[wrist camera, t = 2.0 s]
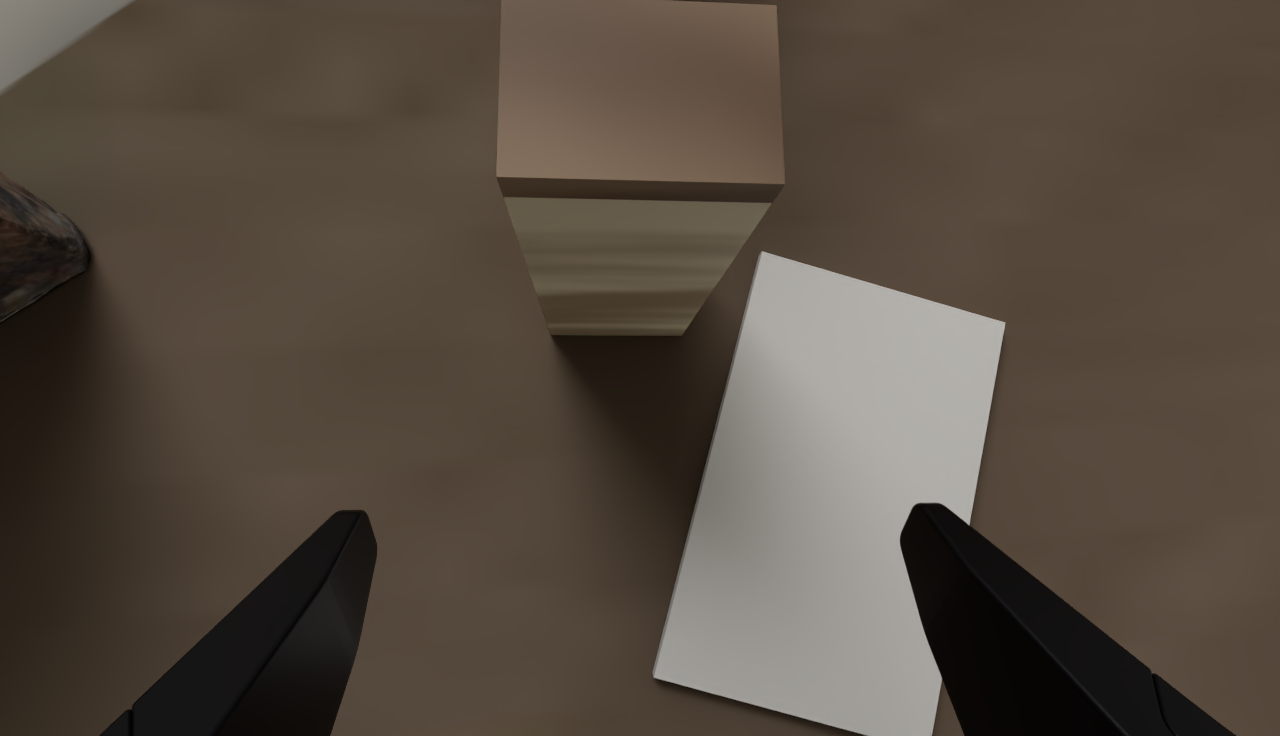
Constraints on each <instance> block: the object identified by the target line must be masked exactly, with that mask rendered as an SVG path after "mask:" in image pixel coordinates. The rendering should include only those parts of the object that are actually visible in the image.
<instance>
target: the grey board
mask: <svg viewBox="0 0 1280 736" xmlns="http://www.w3.org/2000/svg"><path fill="white" fill-rule="evenodd" d="M1004 328H1005V323H1004V322H1001V321H998V320H994V319H991V318H987V317H984V316H981V315H977V314H974V313H970V312H967V311H964V310H960V309H957V308H953V307H950V306H946V305H943V304H940V303H936V302H933V301H929V300H926V299H923V298H919V297H916V296H912V295H909V294H906V293H902V292H899V291H895V290H892V289H889V288H885V287H882V286H878V285H875V284H871V283H868V282H865V281H861V280H858V279H854V278H851V277H848V276H844V275H841V274H837V273H834V272H831V271H827V270H824V269H820V268H817V267H814V266H810V265H807V264H803V263H800V262H796V261H793V260H790V259H786V258H783V257H779V256H776V255H773V254H769V253H766V252H761V253H760V255H759V256H758V260H757V264H756V268H755V272H754V276H753V280H752V284H751V288H750V292H749V296H748V300H747V303H746V307H745V311H744V315H743V319H742V323H741V327H740V331H739V335H738V339H737V343H736V347H735V351H734V354H733V358H732V362H731V366H730V370H729V374H728V378H727V382H726V386H725V390H724V394H723V398H722V402H721V405H720V409H719V413H718V417H717V421H716V425H715V429H714V433H713V437H712V441H711V445H710V449H709V453H708V456H707V460H706V464H705V468H704V472H703V476H702V480H701V484H700V488H699V492H698V496H697V500H696V504H695V507H694V511H693V515H692V519H691V523H690V527H689V531H688V535H687V539H686V543H685V547H684V551H683V555H682V558H681V562H680V566H679V570H678V574H677V578H676V582H675V586H674V590H673V594H672V598H671V602H670V606H669V609H668V613H667V617H666V621H665V625H664V629H663V633H662V637H661V641H660V645H659V649H658V653H657V657H656V660H655V664H654V668H653V672H652V673H653V677H654V678H657V679H661V680H664V681H668V682H672V683H675V684H679V685H683V686H686V687H690V688H694V689H698V690H701V691H705V692H709V693H712V694H716V695H720V696H723V697H727V698H731V699H734V700H738V701H742V702H745V703H749V704H753V705H756V706H760V707H764V708H768V709H771V710H775V711H779V712H782V713H786V714H790V715H793V716H797V717H801V718H804V719H808V720H812V721H815V722H819V723H823V724H827V725H830V726H834V727H838V728H841V729H845V730H849V731H852V732H856V733H860V734H863V735H867V736H932V732H933V727H934V721H935V715H936V710H937V704H938V698H939V693H940V687H941V682H942V677H941V674H940V672H939V669H938V667H937V664H936V662H935V659H934V657H933V654H932V652H931V649H930V646H929V644H928V641H927V638H926V636H925V633H924V630H923V626H922V623H921V620H920V616H919V613H918V609H917V605H916V602H915V598H914V595H913V591H912V587H911V584H910V580H909V577H908V573H907V569H906V566H905V562H904V559H903V555H902V551H901V547H900V534H901V531H902V529H903V527H904V525H905V522H906V520H907V518H908V516H909V514H910V512H911V509H912V507H913V506H914V505H915V504H917V503H934V502H935V503H941V504H943V505H944V506H946V507H947V508H948V509H950V510H951V511H952V512H953V513H955V514H956V515H957V516H958V517H960V518H961V519H962V520H963V521H965V522H966V523H967V524H968V525H969V524H970V519H971V513H972V507H973V502H974V496H975V491H976V485H977V479H978V474H979V468H980V462H981V457H982V451H983V446H984V440H985V434H986V429H987V423H988V418H989V412H990V406H991V401H992V395H993V389H994V384H995V378H996V373H997V367H998V361H999V356H1000V350H1001V344H1002V339H1003V333H1004Z"/></svg>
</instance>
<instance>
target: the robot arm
mask: <svg viewBox="0 0 1280 736" xmlns="http://www.w3.org/2000/svg"><path fill="white" fill-rule="evenodd" d="M900 547H901V551H902V555H903V559H904V562H905V566H906V569H907V573H908V577H909V580H910V584H911V587H912V591H913V595H914V598H915V602H916V605H917V609H918V613H919V616H920V620H921V623H922V626H923V630H924V633H925V636H926V638H927V641H928V644H929V646H930V649H931V652H932V654H933V657H934V659H935V662H936V664H937V667H938V669H939V672H940V674H941V677H942V680H943V682H944V685H945V687H946V690H947V692H948V695H949V697H950V700H951V702H952V705H953V707H954V710H955V713H956V715H957V718H958V720H959V723H960V725H961V728H962V730H963V733H964V735H965V736H1236V735H1235V734H1233V733H1232V732H1231V731H1229V730H1228V729H1227V728H1225V727H1224V726H1222V725H1221V724H1220V723H1219V722H1217V721H1216V720H1215V719H1213V718H1212V717H1211V716H1209V715H1208V714H1207V713H1206V712H1204V711H1203V710H1202V709H1200V708H1199V707H1198V706H1197V705H1195V704H1194V703H1193V702H1191V701H1190V700H1189V699H1187V698H1186V697H1185V696H1184V695H1182V694H1181V693H1180V692H1178V691H1177V690H1176V689H1175V688H1173V687H1172V686H1171V685H1170V684H1168V683H1167V682H1166V681H1165V680H1163V679H1162V678H1161V677H1160V676H1158V675H1157V674H1155V673H1151V670H1150V669H1149V668H1148V667H1147V666H1146V665H1144V664H1143V663H1142V662H1141V661H1139V660H1138V659H1137V658H1136V657H1134V656H1133V655H1132V654H1131V653H1129V652H1128V651H1127V650H1125V649H1124V648H1123V647H1122V646H1120V645H1119V644H1118V643H1117V642H1115V641H1114V640H1113V639H1112V638H1110V637H1109V636H1108V635H1107V634H1105V633H1104V632H1103V631H1102V630H1100V629H1099V628H1098V627H1097V626H1095V625H1094V624H1093V623H1092V622H1090V621H1089V620H1088V619H1087V618H1085V617H1084V616H1083V615H1082V614H1080V613H1079V612H1078V611H1076V610H1075V609H1074V608H1073V607H1071V606H1070V605H1069V604H1068V603H1066V602H1065V601H1064V600H1063V599H1061V598H1060V597H1059V596H1058V595H1056V594H1055V593H1054V592H1053V591H1051V590H1050V589H1049V588H1048V587H1046V586H1045V585H1044V584H1043V583H1041V582H1040V581H1039V580H1038V579H1036V578H1035V577H1034V576H1033V575H1031V574H1030V573H1029V572H1028V571H1026V570H1025V569H1024V568H1022V567H1021V566H1020V565H1019V564H1017V563H1016V562H1015V561H1014V560H1012V559H1011V558H1010V557H1009V556H1007V555H1006V554H1005V553H1004V552H1002V551H1001V550H1000V549H999V548H997V547H996V546H995V545H994V544H992V543H991V542H990V541H989V540H987V539H986V538H985V537H984V536H982V535H981V534H980V533H979V532H977V531H976V530H975V529H973V528H972V527H971V526H970V525H968V524H967V523H966V522H965V521H963V520H962V519H961V518H960V517H958V516H957V515H956V514H955V513H953V512H952V511H951V510H950V509H948V508H947V507H946V506H944V505H943V504H941V503H935V502H934V503H917V504H915V505H914V506H913V507H912V509H911V512H910V514H909V516H908V518H907V520H906V522H905V525H904V527H903V529H902V531H901V534H900ZM376 557H377V543H376V539H375V536H374V533H373V530H372V527H371V524H370V520H369V517H368V515H367V513H366V512H365V511H363V510H341V511H338V512H336V513H334V514H333V515H332V516H331V517H330V518H329V519H328V520H327V521H326V522H325V523H324V524H322V525H321V526H320V527H319V528H318V529H317V530H316V531H315V532H314V533H313V534H312V535H311V536H310V537H309V538H308V539H307V540H306V541H305V542H303V543H302V544H301V545H300V546H299V547H298V548H297V549H296V550H295V551H294V552H293V553H292V554H291V555H290V556H289V557H288V558H287V559H286V560H284V561H283V562H282V563H281V564H280V565H279V566H278V567H277V568H276V569H275V570H274V571H273V572H272V573H271V574H270V575H269V576H268V577H267V578H265V579H264V580H263V581H262V582H261V583H260V584H259V585H258V586H257V587H256V588H255V589H254V590H253V591H252V592H251V593H250V594H249V595H248V596H246V597H245V598H244V599H243V600H242V601H241V602H240V603H239V604H238V605H237V606H236V607H235V608H234V609H233V610H232V611H231V612H230V613H229V614H227V615H226V616H225V617H224V618H223V619H222V620H221V621H220V622H219V623H218V624H217V625H216V626H215V627H214V628H213V629H212V630H211V631H210V632H209V633H207V634H206V635H205V636H204V637H203V638H202V639H201V640H200V641H199V642H198V643H197V644H196V645H195V646H194V647H193V648H192V649H191V650H190V651H188V652H187V653H186V654H185V655H184V656H183V657H182V658H181V659H180V660H179V661H178V662H177V663H176V664H175V665H174V666H173V667H172V668H171V669H169V670H168V671H167V672H166V673H165V674H164V675H163V676H162V677H161V678H160V679H159V680H158V681H157V682H156V683H155V684H154V685H153V686H152V687H150V688H149V689H148V690H147V691H146V692H145V693H144V694H143V695H142V696H141V697H140V698H139V699H138V700H137V701H136V702H135V703H134V704H133V705H132V710H131V709H129V710H126V711H125V712H124V713H123V714H122V715H121V716H120V717H119V718H117V719H116V720H115V721H114V722H113V723H112V724H111V725H110V726H109V727H108V728H107V729H106V730H105V731H104V732H103V733H102V734H101V735H100V736H330V735H331V732H332V729H333V726H334V722H335V719H336V716H337V713H338V710H339V707H340V704H341V701H342V698H343V695H344V691H345V688H346V685H347V682H348V679H349V676H350V673H351V670H352V667H353V663H354V660H355V657H356V653H357V650H358V645H359V641H360V636H361V632H362V627H363V622H364V617H365V612H366V607H367V602H368V597H369V592H370V587H371V582H372V577H373V572H374V567H375V563H376Z"/></svg>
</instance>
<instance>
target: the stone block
mask: <svg viewBox="0 0 1280 736" xmlns="http://www.w3.org/2000/svg"><path fill="white" fill-rule="evenodd" d="M88 260H89V254H88V250H87V247H86V244H85V240H84V238H83V237H82V235H81V234H80V232H79V231H78V229H77V227H76V226H75V224H74V223H73V222H72V221H71V220H70V219H69V218H68V217H67V216H66V215H65V214H59V213H58V212H56V211H55V210H54V209H53V208H52V207H50V206H49V205H48V204H46V203H45V202H44V201H42V200H40V199H39V198H37V197H35V196H34V195H33V194H31V193H30V192H29V191H28V190H26V189H25V188H24V187H22V186H20V185H18V184H17V183H15V182H13V181H11V180H10V179H9V178H8V177H7V176H5V175H4V174H3V173H2V172H0V322H1V321H3V320H5V319H7V318H8V317H10V316H11V315H13V314H14V313H16V312H17V311H19V310H20V309H22V308H24V307H26V306H27V305H29V304H31V303H32V302H34V301H36V300H37V299H38V298H40V297H41V296H43V295H44V294H45V293H47V292H48V291H49V290H51V289H52V288H54V287H56V286H58V285H60V284H61V283H63V282H65V281H67V280H69V279H71V278H72V277H74V276H76V275H78V274H80V273H82V272H83V271H85V270H87V265H88Z"/></svg>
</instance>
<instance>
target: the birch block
mask: <svg viewBox="0 0 1280 736" xmlns="http://www.w3.org/2000/svg"><path fill="white" fill-rule="evenodd" d="M496 177H497V180H498V183H499V186H500V189H501V192H502V195H503V197H504V200H505V203H506V206H507V209H508V212H509V215H510V218H511V221H512V224H513V227H514V230H515V232H516V235H517V238H518V241H519V244H520V247H521V250H522V253H523V256H524V259H525V262H526V265H527V268H528V270H529V273H530V276H531V279H532V282H533V285H534V288H535V291H536V294H537V297H538V300H539V303H540V305H541V308H542V311H543V314H544V317H545V320H546V323H547V326H548V329H549V332H550V335H623V336H682V335H683V333H684V332H685V330H686V329H687V327H688V326H689V324H690V323H691V321H692V320H693V318H694V317H695V316H696V314H697V313H698V311H699V310H700V308H701V307H702V305H703V304H704V302H705V301H706V299H707V298H708V296H709V295H710V294H711V292H712V291H713V289H714V288H715V286H716V285H717V283H718V282H719V280H720V279H721V277H722V276H723V274H724V273H725V272H726V270H727V269H728V267H729V266H730V264H731V263H732V261H733V260H734V258H735V257H736V255H737V254H738V252H739V251H740V250H741V248H742V247H743V245H744V244H745V242H746V241H747V239H748V238H749V236H750V235H751V233H752V232H753V230H754V229H755V228H756V226H757V225H758V223H759V222H760V220H761V219H762V217H763V216H764V214H765V213H766V211H767V210H768V208H769V207H770V205H771V204H772V203H773V201H774V200H775V198H776V197H777V195H778V194H779V192H780V191H781V189H782V188H783V186H784V185H785V172H784V151H783V130H782V109H781V88H780V67H779V46H778V25H777V5H758V4H737V3H716V2H694V1H673V0H502V2H501V37H500V71H499V106H498V140H497V175H496Z"/></svg>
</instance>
